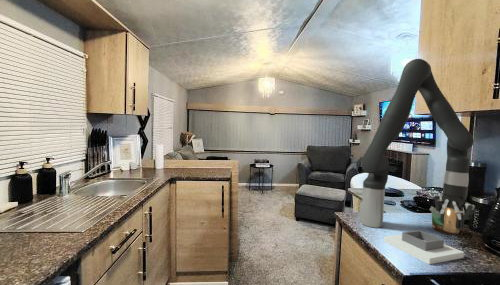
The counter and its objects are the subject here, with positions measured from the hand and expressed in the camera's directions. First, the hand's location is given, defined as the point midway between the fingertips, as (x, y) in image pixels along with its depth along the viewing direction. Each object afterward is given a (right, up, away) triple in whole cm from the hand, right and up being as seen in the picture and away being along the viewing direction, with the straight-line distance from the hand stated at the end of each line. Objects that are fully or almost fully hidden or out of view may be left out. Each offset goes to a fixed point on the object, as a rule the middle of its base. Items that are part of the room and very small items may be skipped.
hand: (451, 225), depth 103 cm
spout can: (0, -2, 0) cm, 2 cm away
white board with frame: (-15, -7, -6) cm, 18 cm away
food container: (+8, -7, +13) cm, 17 cm away
